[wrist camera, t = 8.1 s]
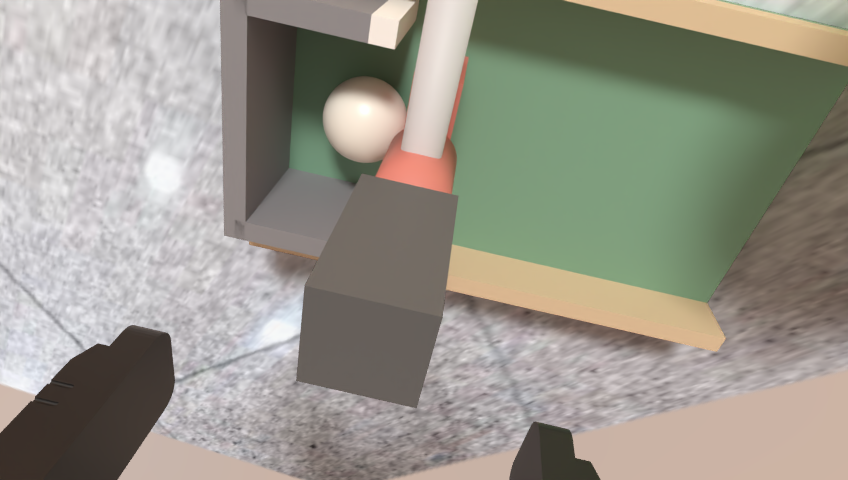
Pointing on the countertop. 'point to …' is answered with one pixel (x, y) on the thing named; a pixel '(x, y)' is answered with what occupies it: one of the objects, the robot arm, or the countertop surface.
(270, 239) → the pitch
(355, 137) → the ball
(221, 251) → the countertop surface
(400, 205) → the striker
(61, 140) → the countertop surface
